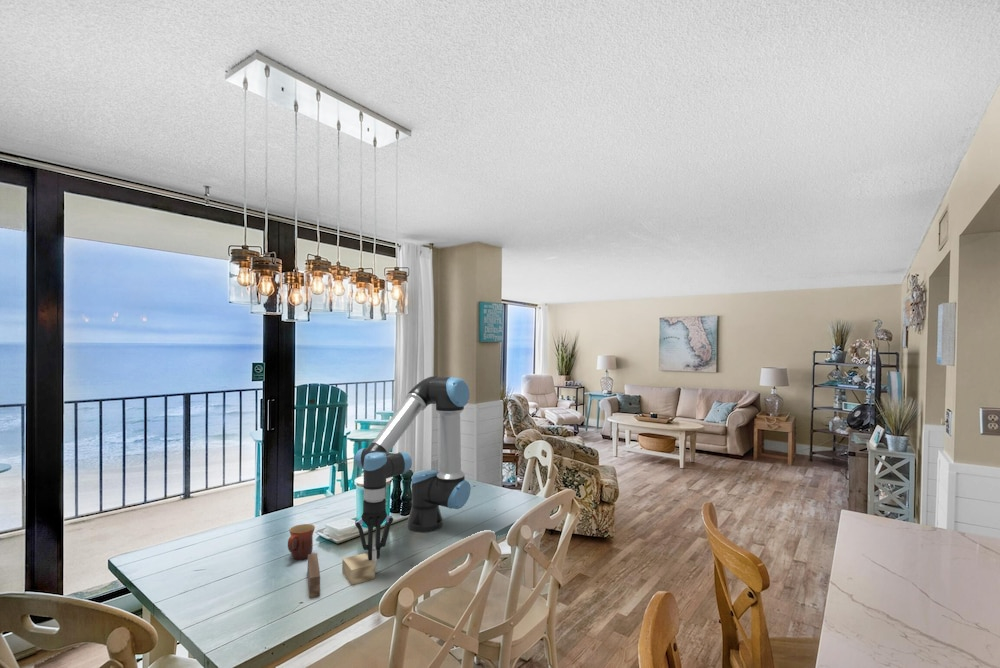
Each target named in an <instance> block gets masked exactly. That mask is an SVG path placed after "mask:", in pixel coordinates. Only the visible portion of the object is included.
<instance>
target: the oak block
mask: <svg viewBox="0 0 1000 668" xmlns="http://www.w3.org/2000/svg"><path fill="white" fill-rule="evenodd" d="M341 562H342V567H341V571H342V575H343V576H344V577H345V579H346V580H347V581H348V583H349V585H350V586H353V585H357V584H360V583H365V582H367V581H371V580H375V578H376V570H375V563H374V562H373V561H372V560H369V559H368V553H366V552H363V553H361V554H357V555H352V556H351V555H350V556H348V557H343V558H342V561H341Z"/></svg>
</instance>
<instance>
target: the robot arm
mask: <svg viewBox="0 0 1000 668" xmlns="http://www.w3.org/2000/svg"><path fill="white" fill-rule="evenodd" d="M468 385H469V384H468V383H467V382H466V381H465V380H464V379H462V378H460V377H455V376H437V375H435V376H428V377H426V378H423V379H422V380H421V381H420V382H418V383H417V384H416V385H415V386H414V387H412V388H411V389H410V390H409V392H408V393H407V394H406V396H405V401H404V402H403V403H402V405H400V407H399V408H398V409H397V410H396V412H394V414H393V416H392V417H391V418H390V419H389V421H388V422H387V423H386V424H385V425H384V427H383V428H382V429H381V430H380V432H379V433H378V434H377V436H376V437H375V438H374V439H373V441H372V442H371V443H370V444H369V446H368V447H364V448H362V447H361V448H359V450H357V451H356V454H355V456H354V464H355V466H356V467H357V468H358V469H361V470H363V496H362V497H363V502H362V514H361V516H360V517H361V518H359V519H358V520H355V521H354V524H355V527H356V528H357V529H358V533H359V537H360V540H361V546H362V549H363V551H367V555H368V559H369V560H372V561H373V562H374V563H375V571H376V570H377V565H378V564H377V560H378V559H380V558H381V555H380V554H381V553H380V552H381V548H385V547H386V546H387V540H388V536H389V531H390V529H391V524H392V523H393V521H394V518H393V516H391V515H388V513H387V508H386V507H387V505H386V504H387V503H386V502H387V499H386V497H387V479H390V478H393V477H396V476H399V475H403V474H405V473H407V472H409V471H410V470H411V469H412V464H413V461H412V458H411V457H412V456H410V454H409V453H408V452H406V451H403V452H402V451H401V452H399V451H398V452H396V453H392V452H390V451H391V450H392V449H393V448H394V446H395V445H396V443H397V442H398V441H399V440H400V438H401V437H402V436H403V434H404V433H405V432H406V431H407V429H408V428H409V426H410V425H411V424H412V423H413V421H414V420H415V419H416V417H417V416H418V414H419V413H420V412H421V411H425V409H426V408H427V407H428V406H429V405H435V411H437V413H438V415H439V445H440V446H439V461H440V462H439V470H436V469H429V470H422V471H417V472H415V473H413V475H412V478H411V509H410V512H409V515H408V518H407V524H406V526H407V529H408V530H410V531H411V532H418V533H428V532H434V531H437V530H439V529H441V528H442V527H443V523H444V522H443V517H442V513H441V509H440V507H444V508H448V509H455V510H459V509H462V508H463V507H465V505H466V504H467V502H468V501H469V498H470V494H471V488H472V487H471V484H470V482H469V481H468V480H465V479H466V477H465V472H464V471H462V456H461V454H462V452H461V450H462V449H461V448H462V446H461V437H462V436H461V413H462V412H463V411H464V410H465V406H466V405H467V404H468V403H469V399H470V394H471V393H470V388H469V386H468ZM439 506H440V507H439ZM384 521H385V523H384ZM363 523H364V524H365V525H366V526H367V541H366V537H365V534H364V529H363V527H362V526H364V525H363ZM383 523H384V527H383V530H382V531H383V532H382V536H381V528H382V527H381V526H382V524H383ZM374 528H375V534H374V535H375V536H373V533H374V532H373V531H374ZM373 537H375V543H374V544H375V546H374V547H373V542H374V541H373Z"/></svg>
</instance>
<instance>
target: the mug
mask: <svg viewBox="0 0 1000 668" xmlns="http://www.w3.org/2000/svg"><path fill="white" fill-rule="evenodd" d="M315 528H316V525H314V524H311V523H305V524H304V523H302V524H298V525H294V526H291V527H290V528H289V530H288V531H289V535H290V536H289V538H288V540H287V549H288V551H289V553H290V556H291V558H292V559H293V560H297V561H301V560H305V559H308V554H313V548H314V547H313V545H314V544H313V543H314V542H313V535H314V532H315Z"/></svg>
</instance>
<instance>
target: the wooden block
mask: <svg viewBox="0 0 1000 668" xmlns="http://www.w3.org/2000/svg"><path fill="white" fill-rule="evenodd" d="M318 556H319V555H318V552H316V553H312V554H308V558H307V584H308V596H309V599H311V598H316V597H320V596H321V574H320V572H321V571H320V566H319V565H320V564H319V557H318Z"/></svg>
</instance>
